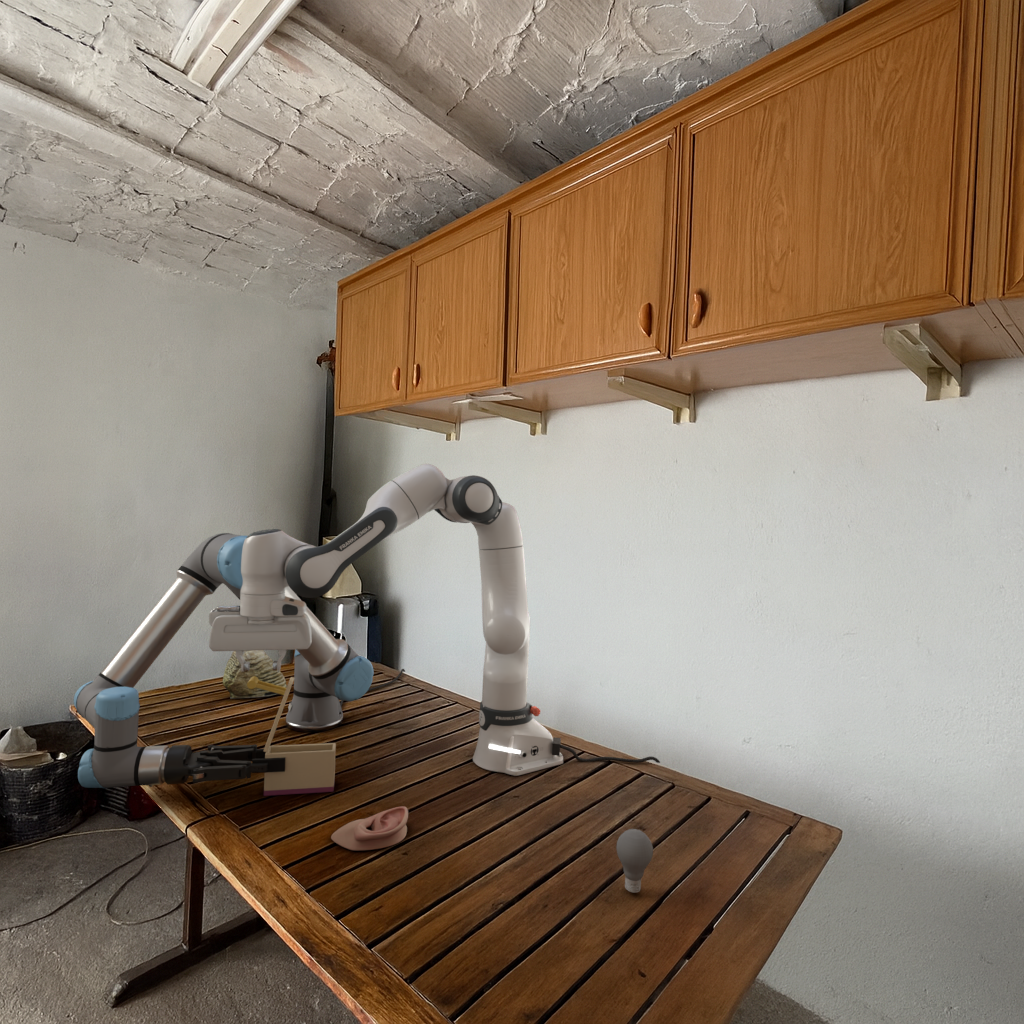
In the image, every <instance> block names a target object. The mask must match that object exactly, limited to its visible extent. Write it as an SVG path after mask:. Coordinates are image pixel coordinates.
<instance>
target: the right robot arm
mask: <svg viewBox="0 0 1024 1024" xmlns="http://www.w3.org/2000/svg"><path fill="white" fill-rule="evenodd" d="M432 511H434V512H436V513H437V514H439V516H440V517H442V518H443V519H445V520H446V521H449V522H451V523H459V524H469V523H470V524H472V525H473V527H474V529H475V532H476V535H477V541H478V543H477V544H478V557H479V568H480V569H479V570H480V581H481V582H480V584H481V618H482V635H483V639H484V641H485V648H484V659H483V660H484V661H483V670H482V690H481V691H482V692H481V696H482V697H481V701H480V703H479V712H478V726H479V731H478V737H477V743H476V746H475V750H474V753H473V756H472V761H473V763H474V764H475V765H476V766H478V767H479V768H481V769H484V770H487V771H490V772H497V773H502V774H503V773H504V774H507V775H511V776H514V777H517V776H522V775H526V774H529V773H534V772H537V771H540V770H544V769H548V768H552V767H556V766H559V765H563V764H564V756H563V754H562V752H561V749H562V750H565V751H568V752H570V753H571V754H572V755H573V757H574V759H575V760H577V761H579V762H581V763H591V762H599V761H600V762H601V761H613V762H622V763H631V764H637V763H638V764H640V763H644V762H648V761H654V762H655V763H657V764H659V763H661V761H660V760H659V759H658V758H657V757H655V756H646V757H643V758H638V759H633V758H632V759H631V758H624V757H615V756H599V757H593V758H582V757H579V755H578V754H577V752H576V751H575V750H574V749H572V748H571V747H568V746H566V745H563V744H561V740H562V738H561V737H557V736H554V737H553V735H552V733H551V732H550V730H548V729H547V728H546V727H545V726H543V724H541V723H540V722H539V721H537V720H536V719H535V718H534V717H539V716H540V714H541V709H540V708H539V707H537V706H535V705H532V704H531V703H529V702H527V701H528V700H527V699H528V679H529V677H528V676H529V658H530V657H529V655H530V654H529V653H530V640H531V639H530V638H531V636H530V635H531V615H530V612H529V606H528V590H527V589H528V588H527V574H526V572H527V571H526V561H525V549H524V539H523V532H522V526H521V522H520V519H519V515H518V512H517V509H516V508H515V506H513V505H511V504H510V503H507V502H503V501H502V498H500V496H499V494H498V492H497V489H496V488H495V486H494V485H493V483H492V482H491V481H490V480H489V479H487V478H485V477H483V476H479V475H466V476H459V477H456V478H453V479H448V478H447V477H446V476H445V475H444V473H443V471H442V470H441V469H439V467H437V466H435V464H434V465H433V464H431V463H422V464H420V465H417V466H415V467H412V468H410V469H409V470H406V471H405V472H402V473H400V474H399V475H397V476H396V477H394V478H392V479H390V481H388V482H386V483H385V484H383V485H382V486H381V487H380V488H378V489H377V490H376V491H375V492H374V493H373V494H372V495H371V496H370V497H369V498H368V499H367V501H366V504H365V509H364V512H363V513H362V515H361V517H360V518H359V519H358V520H357V521H356V522H355V523H354V524H352V525H351V526H349V527H348V528H347V529H345V530H344V531H343V532H341V533H339V534H338V535H337V536H335V537H334V538H332V539H331V540H330V541H329V542H327V543H325V544H322V545H320V546H316V545H313V544H310V543H307V542H304V541H301V540H299V539H296V538H295V537H293V536H291V535H289V534H288V533H286V532H285V531H284V530H282V529H279V528H272V529H271V528H268V529H262V530H257V531H253V532H251V533H250V534H249V535H246V536H247V538H246V539H245V541H244V544H243V549H242V558H241V574H242V578H243V583H242V587H241V591H240V600H239V605H229V606H224V605H218V606H217V607H215V608H213V609H211V610H210V612H209V616H208V623H209V625H210V626H211V627H210V631H209V640H208V647H209V649H210V650H211V651H212V652H234V651H236V658H237V659H238V661H239V662H240V664H241V672H248V671H249V670H250V666H249V665H250V662H246V661H245V659H244V657H243V656H242V655H243V654H244V651H254V650H264V651H278V655H279V657H278V660H273V671H280V672H281V669H282V661H283V659H284V658H285V656H286V655H287V651H289V650H291V651H295V650H298V649H308V648H309V647H310V645H311V642H312V633H311V624H310V619H309V617H308V615H307V614H305V611H306V606H307V603H306V602H305V601H303V600H301V601H300V600H297V599H293V598H290V597H287V596H285V588H286V587H288V586H289V587H290V588H291V589H292V591H293V592H294V593H295V594H296V595H297V596H300V597H301V598H308V599H314V598H319V597H322V596H324V595H326V594H327V593H329V592H330V591H331V590H332V589H333V587H335V585H336V584H337V582H338V580H339V579H340V577H341V576H342V574H343V572H344V571H345V570H346V569H347V568H348V567H350V565H352V564H353V563H354V562H356V561H357V560H358V559H360V558H361V557H362V556H364V555H365V554H367V552H369V551H370V550H371V549H373V548H374V547H375V546H376V545H378V544H379V543H381V542H382V541H384V540H386V539H387V538H389V537H391V536H393V535H395V534H397V533H399V532H401V531H403V530H404V529H406V528H408V527H410V526H411V525H413V524H414V523H415V522H418V521H419V520H420V519H422V517H424V516H426V515H427V514H428V513H430V512H432ZM533 716H534V717H533Z"/></svg>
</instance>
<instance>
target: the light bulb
mask: <svg viewBox="0 0 1024 1024" xmlns="http://www.w3.org/2000/svg"><path fill="white" fill-rule="evenodd" d="M615 849H616V854H617V857H618V859H619V861H620V863H621V865H622V867H623V873H624V874H623V875H624V876H625V878H624V888H625V890H627V891H628V892H630V893H634V894H635V893H639V892H640V891H641V889H642V887H641V886H642V879H643V877H644V875H645V871H646V868H647V867H648V866H649V864H650V863H651V861H652V859H653V855H654V847H653V843H652V841H651V838H649V836H648V835H647V834H646V833H645V832H643V831H642V830H641V829H636V828H629V829H627V830H625V831H623V832H622V833H621V834H620V835H619V837H618V839H617V841H616V847H615Z"/></svg>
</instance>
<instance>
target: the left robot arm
mask: <svg viewBox="0 0 1024 1024" xmlns="http://www.w3.org/2000/svg"><path fill="white" fill-rule="evenodd" d="M247 536H248V535H241V534H234V533H231V532H230V533H229V532H221V533H216V534H214V535H211V536H209V537H207V538H205V539H204V540H203V541H202V542H201V543H199V545H198V546H197V547H196V548H195V549H194V550H193V551H192V552H191V553H190V554H189V555H188V556H187V558H186V559H185V561H184V562H183V563H182V564H181V565H180V567H179V568H178V569H177V570H176V579H175V580H174V581H173V582H172V584H171V585H170V586H169V587H168V589H167V590H166V591H165V592H164V594H163V595H162V596H161V597H160V598H159V600H158V601H157V602H156V603H155V604H154V606H153V607H151V610H150V611H149V612H148V613H147V614H146V616H145V617H144V618H143V619H142V620H141V621H140V623H139V624H138V625H137V626H136V628H135V629H134V631H132V633H131V634H130V635H129V636H128V637H127V639H126V640H125V641H124V642H123V644H122V645H121V647H120V648H119V649H118V650H117V651H116V652H115V654H114V655H113V656H112V658H111V659H110V660H109V661H108V663H107V664H106V665H105V666H104V667H103V669H102V670H101V671H100V672H99V673H98V674H97V676H96V677H95V678H94V679H93V680H90V681H87V682H86V683H84V684H83V685H81V686H80V687H79V688H78V689H77V690H76V691H75V694H74V695H73V705H74V707H75V709H76V712H77V713H78V715H79V716H80V717H81V718H83V719H84V720H86V721H87V722H88V723H89V724H90V725H91V726H92V727H93V728H94V742H93V748H89V749H87V750H86V751H84V753H83V754H82V756H81V758H80V760H79V766H78V769H77V779H78V783H79V785H80V786H81V787H82V788H86V789H103V790H104V789H109V788H122V787H136V786H138V787H141V786H148V787H149V788H153V787H154V786H160V785H164V784H166V785H183V784H185V783H187V781H188V780H189V777H192V783H193V784H197V783H203V782H215V781H230V780H245V779H251V777H252V774H261V773H262V774H265V773H266V772H285V759H286V757H285V758H265V754H266V752H264V748H258V745H257V743H256V744H240V745H213V744H211V745H207V749H205V750H201V751H197V752H196V751H195V752H193V748H192V746H191V745H190V744H176V745H172V746H169V745H167V744H166V745H149V746H138V738H139V737H138V734H139V716H140V715H139V714H140V707H141V704H140V695H139V694H140V693H139V691H138V689H137V688H135V686H136V685H137V684H138V682H140V680H141V678H142V677H143V676H144V675H145V674H146V672H147V671H148V670H149V669H150V668H151V666H152V665H153V663H155V661H156V660H157V658H158V657H160V654H161V653H162V652H163V651H164V649H165V648H167V645H168V644H169V643H170V642H171V641H172V640H173V638H174V637H175V636H176V634H177V633H178V632H179V631H180V629H181V628H182V626H183V625H184V624H185V623H186V621H187V620H188V619H189V617H190V616H191V615H192V614H193V612H194V611H195V610H196V609H197V607H198V606H199V605H200V603H201V602H202V601H203V600H204V598H205V597H206V596H209V595H213V594H214V593H215V592H216V590H217V589H218V588H219V587H220V586H221V585H224V586H226V587H227V588H228V589H229V590H230V592H231V593H232V594H233V595H234V596H235V597H236V598H237V599H238V600H239V601H240V591H241V587H242V583H243V578H242V574H241V558H242V549H243V544H244V541H245V539H246V538H247ZM285 596H287V597H290V598H293V599H297V600H300V601H302V599H301V598H300V597H299V595H298V594H296V593H295V592H294V591H292V589H291V588H290V587H289V586H288V587H286V588H285ZM305 614H307V615H308V617H309V619H310V624H311V633H312V642H311V645H310V647H309V648H308V649H298V650H294V655H293V657H294V672H293V673H294V674H293V678H295V679H294V681H293V695H292V696H293V697H292V699H291V701H290V702H289V703H288V707H287V708H288V711H287V713H286V715H285V726H286V728H287V729H289V730H291V731H294V732H295V731H296V732H301V733H316V732H325V731H329V730H332V729H335V728H337V727H339V726H340V725H342V723H343V722H344V714H343V709H342V706H343V703H344V701H345V702H353V701H354V702H355V701H357V700H359V699H361V698H362V697H363V696H364V695H365V694H366V693H367V692H370V691H373V690H377V689H380V688H383V687H385V686H388V685H390V684H393V683H394V682H396V681H397V680H399V678H400V677H401V676H402V675H403V673H406V670H405V668H401V669H400V672H399V674H398V675H397V676H396V677H395V678H393V679H391V680H390V681H388V682H386V683H383V684H380V685H377V686H373V687H371V686H372V683H373V681H374V679H373V678H374V667H373V664H372V662H371V661H370V660H369V659H368V658H367V657H365V656H362V655H359V654H358V653H357V652H356V651H355V650H354V649H353V648H352V646H351V645H349V644H348V642H347V641H346V640H345V639H343V638H335V637H334V636H333V634H332V633H331V631H329V630H328V629H327V628H326V627H325V625H323V623H322V622H321V620H319V618H318V617H317V616H316V615H315V614H314V613H313V612H312V610H311V609H310V608H309V607H308V606H307V605H306V611H305Z"/></svg>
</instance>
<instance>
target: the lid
mask: <svg viewBox="0 0 1024 1024" xmlns="http://www.w3.org/2000/svg"><path fill="white" fill-rule="evenodd" d="M294 679H295V678H294V676H290V678H289V680H288V683H287V684H286V685H287V687H286V688H285V687H281V686H278V685H274V684H271V683H267V682H263V681H260V680H259V679H258V678H257V677H256V676H253V677H251V678H250V680H249V681H248V683H247V687H248V688H249V689H254V688H255V687H256V688H260V689H263V690H267V691H271V692H274V693H278V694H277V695H281V696H282V699H281V702H280V704H279V708H278V710H277V713H276V716H275V718H274V721H273V723H272V725H271V730H270V732H269V735H268V737H267V740H266V743H265V746H264V748H263V749H264V752H268V749H269V747H270V746H271V744H272V741H273V739H274V736H275V734H276V730H277V727H278V724H279V722H280V719H281V716H282V714H283V711H284V708H285V706H286V703H287V700H288V697H289V694H290V692H291V689H292V686H293V685H294Z"/></svg>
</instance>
